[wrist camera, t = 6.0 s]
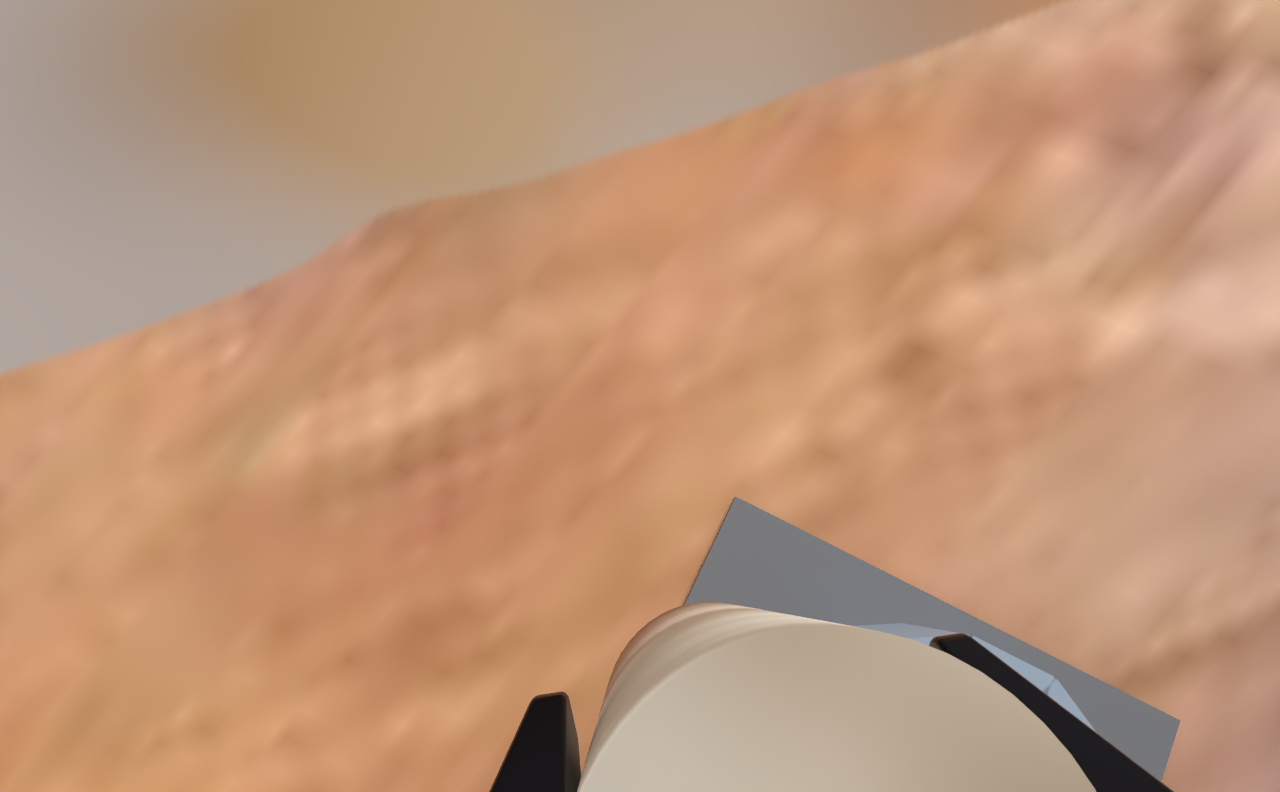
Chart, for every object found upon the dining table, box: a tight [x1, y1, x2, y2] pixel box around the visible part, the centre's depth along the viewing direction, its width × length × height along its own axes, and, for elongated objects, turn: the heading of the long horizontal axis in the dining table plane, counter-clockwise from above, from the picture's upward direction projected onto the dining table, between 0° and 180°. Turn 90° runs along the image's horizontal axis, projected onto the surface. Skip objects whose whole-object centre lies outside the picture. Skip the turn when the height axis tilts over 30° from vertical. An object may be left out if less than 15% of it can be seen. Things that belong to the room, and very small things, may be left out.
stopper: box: [577, 602, 1096, 792], centre depth 10 cm, size 4×4×10 cm
